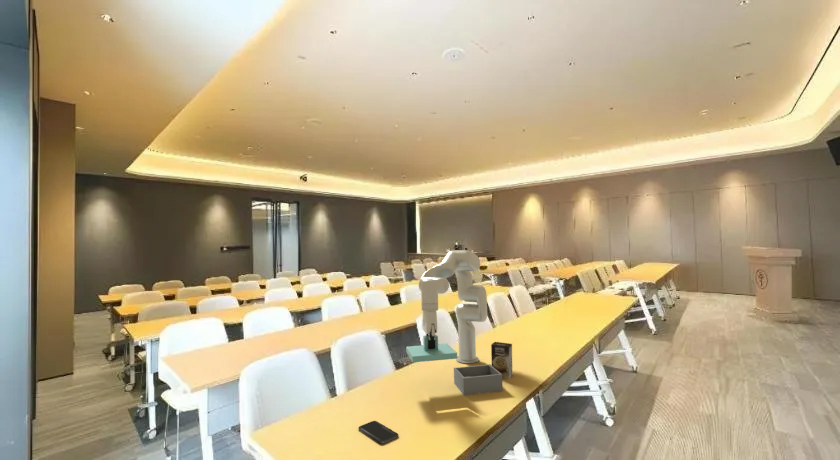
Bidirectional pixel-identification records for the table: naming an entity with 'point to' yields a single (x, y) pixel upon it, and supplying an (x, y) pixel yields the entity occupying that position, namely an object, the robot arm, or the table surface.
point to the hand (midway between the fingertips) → (430, 347)
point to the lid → (430, 351)
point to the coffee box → (502, 358)
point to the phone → (378, 432)
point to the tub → (478, 379)
